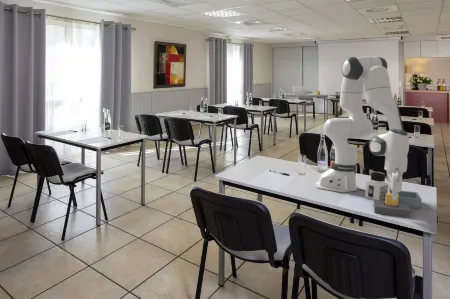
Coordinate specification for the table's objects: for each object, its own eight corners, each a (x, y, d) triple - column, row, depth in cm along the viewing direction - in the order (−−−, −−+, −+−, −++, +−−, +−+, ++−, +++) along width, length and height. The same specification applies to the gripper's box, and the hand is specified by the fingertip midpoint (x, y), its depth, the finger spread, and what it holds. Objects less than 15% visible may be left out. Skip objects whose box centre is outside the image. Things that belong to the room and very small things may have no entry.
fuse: (384, 211, 154) (386, 194, 153) (384, 209, 156) (385, 193, 155) (396, 212, 152) (398, 195, 151) (396, 210, 155) (398, 194, 153)
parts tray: (394, 205, 161) (395, 196, 160) (391, 198, 171) (392, 189, 171) (420, 208, 158) (421, 199, 157) (416, 200, 168) (417, 192, 167)
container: (379, 201, 167) (381, 175, 165) (364, 196, 173) (367, 172, 171) (387, 198, 172) (389, 173, 169) (373, 194, 178) (375, 170, 175)
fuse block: (374, 212, 152) (375, 206, 152) (373, 205, 161) (373, 199, 161) (409, 217, 147) (410, 210, 147) (406, 209, 157) (406, 203, 156)
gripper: (407, 172, 139) (404, 204, 142) (400, 162, 158) (397, 190, 161) (390, 170, 141) (387, 202, 144) (385, 161, 160) (383, 189, 163)
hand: (392, 196), depth 152 cm, fingers open, 8 cm apart
